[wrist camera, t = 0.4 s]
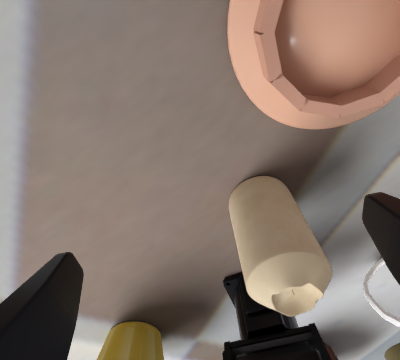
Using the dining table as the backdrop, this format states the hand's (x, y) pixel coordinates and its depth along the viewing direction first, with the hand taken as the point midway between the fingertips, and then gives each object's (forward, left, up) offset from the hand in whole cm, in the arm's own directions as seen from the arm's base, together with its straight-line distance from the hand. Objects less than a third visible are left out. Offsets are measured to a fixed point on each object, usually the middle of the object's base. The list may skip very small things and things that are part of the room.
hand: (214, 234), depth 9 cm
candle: (-10, -2, -14) cm, 17 cm away
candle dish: (+2, -10, -14) cm, 17 cm away
